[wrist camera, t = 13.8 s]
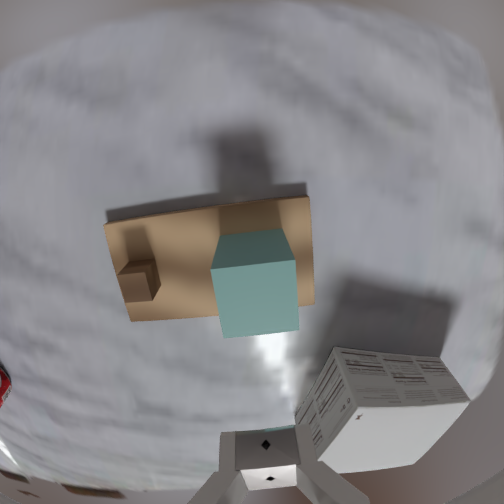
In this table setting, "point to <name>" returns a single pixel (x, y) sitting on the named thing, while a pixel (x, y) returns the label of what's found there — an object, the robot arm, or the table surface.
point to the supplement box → (379, 408)
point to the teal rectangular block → (255, 283)
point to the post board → (198, 254)
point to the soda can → (4, 386)
